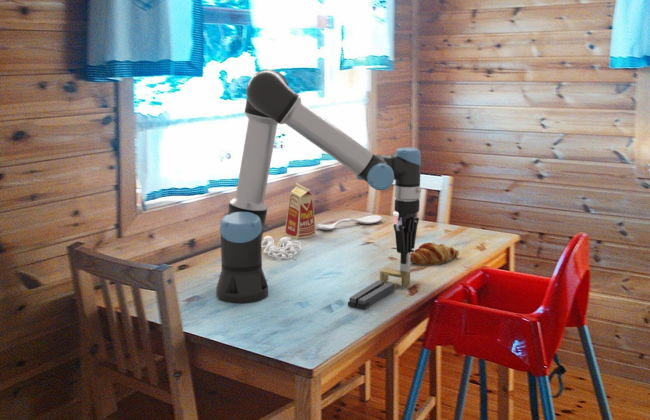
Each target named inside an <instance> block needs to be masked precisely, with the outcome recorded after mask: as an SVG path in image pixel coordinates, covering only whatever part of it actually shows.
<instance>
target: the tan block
mask: <svg viewBox="0 0 650 420" xmlns="http://www.w3.org/2000/svg"><path fill="white" fill-rule="evenodd" d="M389 276H391V277H395V278H401V288H402V289H405V288H406V287H408V286H410V285H411V284H410V283H411V271H410V272H405V271H400V269H394V268H389V267H385V268H383V269H381V270H379V280H380V281H384V283H386V282H389Z"/></svg>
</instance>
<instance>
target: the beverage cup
mask: <svg viewBox="0 0 650 420" xmlns="http://www.w3.org/2000/svg"><path fill="white" fill-rule="evenodd" d="M392 214H393V225H394V224H397V223H398V216H399V213H398V212H396V211H395V210H394V211H393V212H392ZM393 232H394V233H393V234H394V235H395V230H394V229H393Z"/></svg>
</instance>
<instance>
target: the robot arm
mask: <svg viewBox="0 0 650 420" xmlns="http://www.w3.org/2000/svg"><path fill="white" fill-rule="evenodd" d="M244 114H245V116H246V117H247V118H248V122H247V127H246V134H245V140H244V145H243V152H242V157H241V163H240V170H239V175H238V180H237V187H236V193H235V197H233V198H232V199H230V200H229V205H228V209H227V214H226V215H224V216H222V218H221V220H220V225H219V232H220V252H221V253H220V255H221V257H220V258H221V260H220V261H221V272H220V274H219V278H218V281H217V284H216V290H215V291H216V292H215V293H216V295H215V296H216V298H217V299H218V300H220V301H223V302H226V303H233V304H234V303H236V304H237V303H238V304H241V303H242V304H243V303H244V304H246V303H253V302H258V301H261V300H263V299H265V298H267V297H268V295H269V284H268V282H267V279H266V278H267V277H266V276H265V273H264V270H263V265H262V264H263V261H262V260H263V259H262V258H263V256H262V255H263V254H262V251H263V248H262V246H263V244H262V242H263V237H264V236H263V235H264V232H265V227H266V218H267V213H268V205H267V204H266V203H265V196H266V191H267V185H268V179H269V172H270V168H271V161H272V156H273V150H274V145H275V140H276V134H277V129H278V124H279V125H287V126H288V127H289V128H291V129H292V130H294V131H295V132H296V133H298V134H299V135H301V136H302V137H303V138H304V139H306V140H307V141H309V142H310V143H312V144H313V145H315V146H316V147H318V148H319V149H320V150H322V151H323V152H325V153H326V154H327V155H328V156H330V157H332V158H333V159H335V161H337V162H339V163H340V164H341V165H342V166H343V167H345V168H347V169H348V170H350V171H351V172H352V173H354V174H355V175H356V179H357V180H360V181H365V182H366V183H368V185H369V186H370V187H371V188H372V189H374V190H377V191H386V190H388V189H389V188H390V187H392V185H394V186H395V187H394V198H395V199H394V211H396V212H398V213H399V216H398V223H397V224H394V223H393V231H394V230H395V234H394V236H395V244H396V245H395V246H396V252H397V253H398V254H400V263H399V264H400V266H399V270H400V271H405V272H410V273H411V262H410V257H411V253H414V251H415V250H414V249H415V246H416V245H415V244H416V238H417V231H418V224H419V222H420V221H419V220H420V217H416V214H417V213H419V212H420V199H419V198H420V196H421V195H420V193H421V187H420V186H421V168H422V167H421V166H422V161H421V160H422V157H421V153H422V152H421V151H420V149H418V148H416V147H398V148H397V149H396V151H395V154H391V155H389V154H383V155H382V154H373V153H372V152H371V151H370V150H368V149H367V148H365V147H364V146H363V145H362V144H360V143H359V142H358V141H356V140H355V139H354V138H352V137H351V136H349V135H348V134H346V133H345V132H344V131H342V130H341V129H340V128H338V127H337V126H336V125H334V124H333V123H332V122H330V121H328V120H327V119H326V118H324V117H323V116H322V115H321V114H319V113H318V112H316V111H315V110H314V109H312V108H311V107H310V106H308V105H307V104H305V103H304V102H303V101H302V99H301V96H300V95H299V94H298V93H296V92H295V91H294V90H293V89H292V88H291V87H290V86H289V82H288V80H287V79H286V77H285V76H284V74H282V73H281V72H279V71H278V70H274V69H262V70H260V71H257V72H256V73H255V74H254V75H253V76H252V77H251V78H250V80H249V81H248V83H247V87H246V102H245V108H244ZM394 181H395V183H394Z"/></svg>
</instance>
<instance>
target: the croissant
mask: <svg viewBox="0 0 650 420" xmlns="http://www.w3.org/2000/svg"><path fill="white" fill-rule="evenodd" d="M410 253H411V257H410V264H417V265H421V266H425V265H429V266H430V265H431V266H432V265H439V264H440V265H441V264H444V263H446V262H449V261H451V260H453V259H455V258H457V257H459V255H460V251H459V250H458V249H455V248H454V247H452V246H451V247H449V246H446V245H445V244H437V243H435V242H424V243H422V244H420V245H419V247H418V248H417V249H415V250H414V252H410Z"/></svg>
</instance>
